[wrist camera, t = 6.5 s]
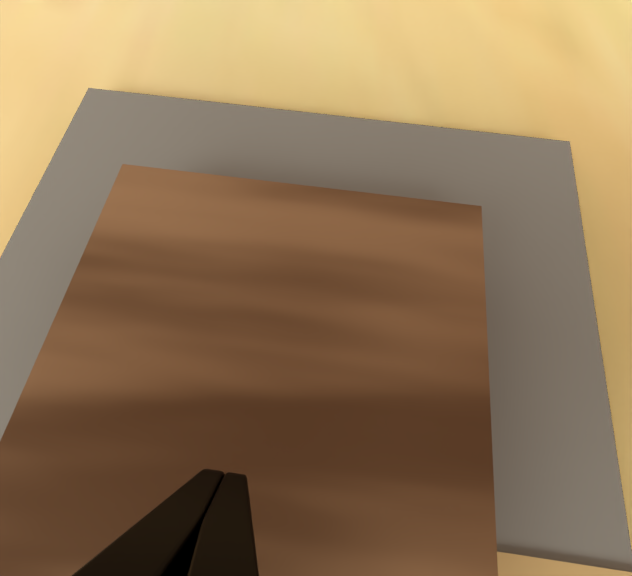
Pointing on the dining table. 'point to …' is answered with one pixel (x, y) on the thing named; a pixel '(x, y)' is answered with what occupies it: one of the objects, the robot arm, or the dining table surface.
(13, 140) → the dining table surface
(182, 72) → the dining table surface
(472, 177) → the slate floor board
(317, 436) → the walnut plank
